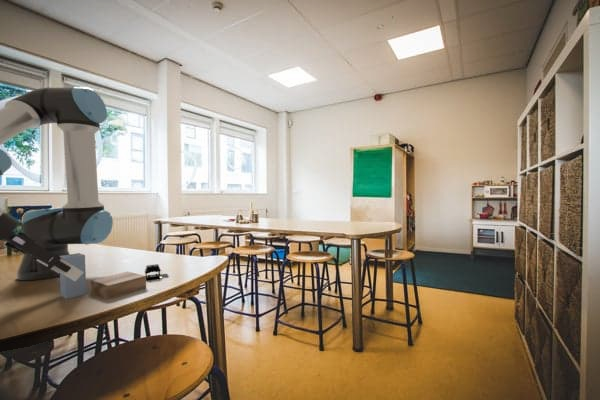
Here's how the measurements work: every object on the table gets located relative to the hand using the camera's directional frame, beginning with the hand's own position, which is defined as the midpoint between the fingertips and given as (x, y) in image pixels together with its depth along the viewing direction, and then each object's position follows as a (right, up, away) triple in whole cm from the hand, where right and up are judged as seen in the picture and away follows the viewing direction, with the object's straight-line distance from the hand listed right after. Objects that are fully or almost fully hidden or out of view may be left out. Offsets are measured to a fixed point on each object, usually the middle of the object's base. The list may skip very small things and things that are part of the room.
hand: (70, 272), depth 77 cm
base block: (+11, -7, +4) cm, 13 cm away
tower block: (0, -6, +1) cm, 6 cm away
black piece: (+14, -7, +16) cm, 23 cm away
